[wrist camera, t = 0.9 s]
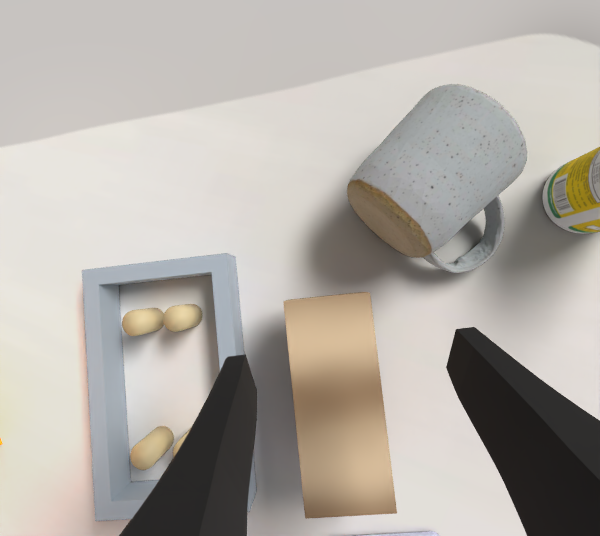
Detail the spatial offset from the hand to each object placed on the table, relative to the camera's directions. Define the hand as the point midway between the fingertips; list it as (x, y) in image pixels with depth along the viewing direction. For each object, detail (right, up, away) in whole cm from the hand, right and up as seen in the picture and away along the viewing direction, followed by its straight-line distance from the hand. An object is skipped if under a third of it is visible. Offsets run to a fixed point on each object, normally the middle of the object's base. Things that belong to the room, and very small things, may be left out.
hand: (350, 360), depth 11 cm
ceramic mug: (+8, +8, +13) cm, 17 cm away
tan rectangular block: (+1, -5, +9) cm, 11 cm away
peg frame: (-11, -5, +13) cm, 18 cm away
